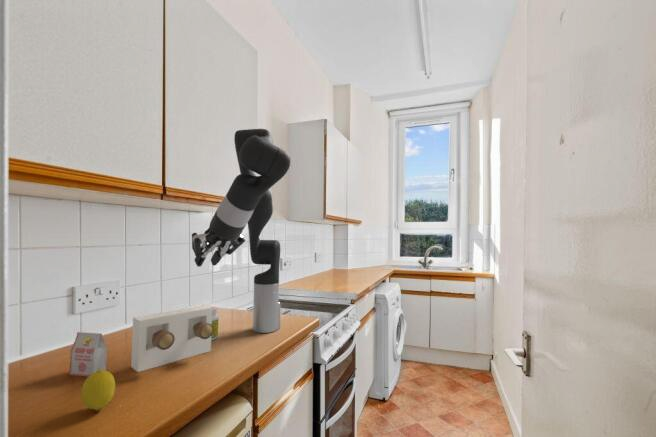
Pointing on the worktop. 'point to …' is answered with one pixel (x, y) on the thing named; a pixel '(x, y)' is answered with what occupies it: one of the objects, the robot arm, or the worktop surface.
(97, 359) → the white milk carton
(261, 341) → the worktop surface
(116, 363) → the worktop surface
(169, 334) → the knob
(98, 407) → the lemon
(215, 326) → the supplement bottle
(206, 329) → the knob
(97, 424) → the worktop surface
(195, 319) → the panel
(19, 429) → the worktop surface
